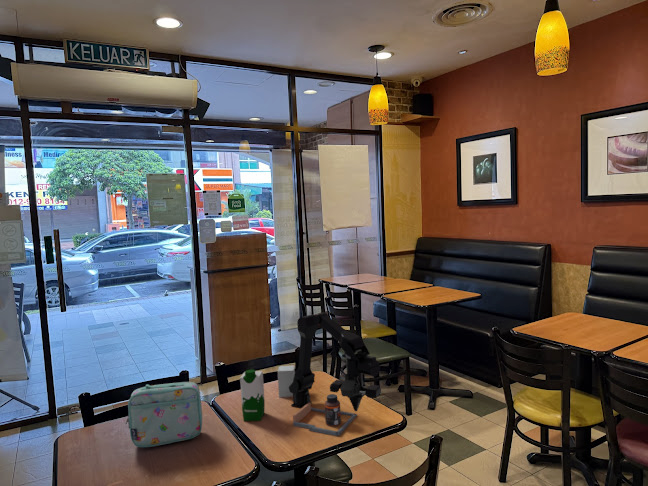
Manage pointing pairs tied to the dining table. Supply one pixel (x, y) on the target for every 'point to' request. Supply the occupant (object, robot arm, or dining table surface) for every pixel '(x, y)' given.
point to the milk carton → (252, 395)
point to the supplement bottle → (332, 411)
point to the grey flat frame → (303, 413)
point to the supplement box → (285, 380)
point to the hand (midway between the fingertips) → (356, 410)
